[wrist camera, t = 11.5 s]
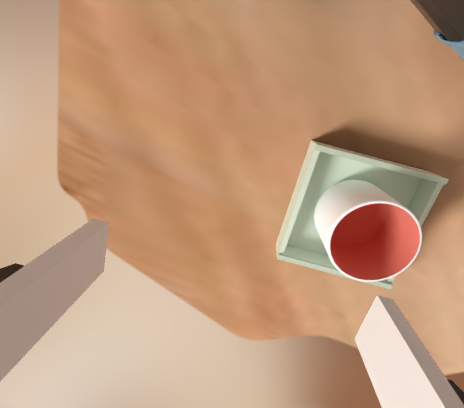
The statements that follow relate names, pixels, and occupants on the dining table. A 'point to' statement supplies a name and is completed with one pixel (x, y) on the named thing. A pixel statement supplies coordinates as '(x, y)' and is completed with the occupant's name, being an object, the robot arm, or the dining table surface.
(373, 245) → the cup
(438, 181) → the pale green square tray
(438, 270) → the dining table surface
